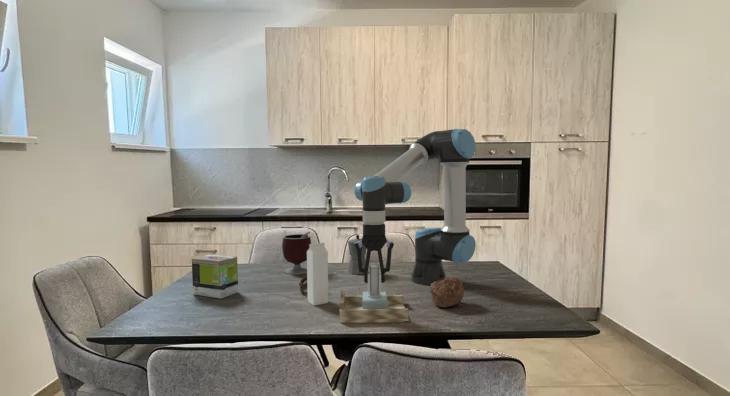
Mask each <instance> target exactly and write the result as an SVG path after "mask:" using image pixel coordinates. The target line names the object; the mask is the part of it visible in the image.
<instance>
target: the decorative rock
mask: <svg viewBox="0 0 730 396" xmlns="http://www.w3.org/2000/svg"><path fill="white" fill-rule="evenodd" d="M464 288H465V287H464V284H463V282H462V280H461V279H460V278H458V277H454V276H452V277H448V278H446V279H444V280H439V281H436V282H434V283H433V284H431V285H430V286H429V293H430V295H431V301H432V303H434V304H435V305H436V306H437V307H441V308H448V307H454V306H455V305H456V306H457V305H460V303H461V302H462V300H464V295H465V289H464Z"/></svg>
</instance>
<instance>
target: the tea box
mask: <svg viewBox="0 0 730 396" xmlns="http://www.w3.org/2000/svg"><path fill="white" fill-rule="evenodd" d="M191 271H192V272H191V274H192V294H193V295H196V296H203V297H208V298H215V299H224V298H227V297H229V296H232V295H234V294H237V293H238V292H239V279H238V278H239V273H238V256H234V255H224V254H223V255H222V254H212V253H211V254H206V255H202V256H201V255H200V256H197V257H193V258H191Z"/></svg>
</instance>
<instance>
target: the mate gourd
mask: <svg viewBox="0 0 730 396" xmlns="http://www.w3.org/2000/svg"><path fill="white" fill-rule="evenodd" d="M310 234H311V232H310V231H307V232H305V233H304V234H303V233H301V234H300V233H295V234H285V235H284V236H282V242H281V243H282V244H281V248H282V249H281V250H282V255H283V258H284V260H286V262H288V263H291V264H294V265H293V267H288V268H285V269H284V273H285V274H287V275H293V276H294V275H305V274H307V266H301V264H303V263H305V262H307V250H308V249H309V245H310V244H312V239H311V235H310Z"/></svg>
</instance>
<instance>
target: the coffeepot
mask: <svg viewBox="0 0 730 396" xmlns="http://www.w3.org/2000/svg"><path fill="white" fill-rule="evenodd" d="M355 237H356V238H354V239H350V240H348V241H347V245H348V250H349V251H348V252H349V255H350V259H349V264H348V265H349V266H348V273H349V274H350V273H351V274H350V275H355V274H360V275H364V273H363V272H359V267H358V256H357V249H356V247H355V242H359V241H361V239H362V238H360V235H359V234H356V235H355ZM360 249H361V259H362V268H365V261H366V255H367V249H366V247H365V246H364V245H363V243H362V247H361V248H360Z"/></svg>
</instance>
